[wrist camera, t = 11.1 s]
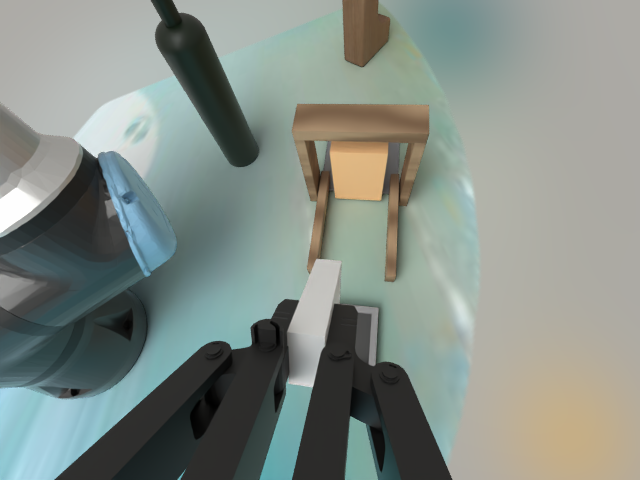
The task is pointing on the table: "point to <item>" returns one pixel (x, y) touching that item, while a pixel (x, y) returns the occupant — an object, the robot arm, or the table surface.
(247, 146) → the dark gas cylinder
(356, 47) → the wooden block
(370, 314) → the pad
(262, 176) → the table surface
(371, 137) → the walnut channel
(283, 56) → the table surface
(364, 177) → the tan l-shaped block
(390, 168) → the felt mat
